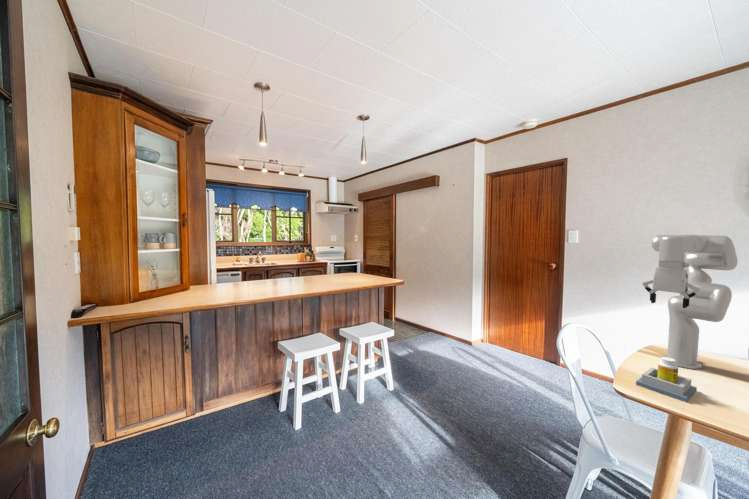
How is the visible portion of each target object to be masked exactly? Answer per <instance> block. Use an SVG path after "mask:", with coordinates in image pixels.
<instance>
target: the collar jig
mask: <svg viewBox="0 0 749 499" xmlns="http://www.w3.org/2000/svg"><path fill="white" fill-rule="evenodd" d="M657 375H658V368H655V367H651V368H649V369H648V370H647V371H645V372H643V373H642V374H641V377H640V378H639V379H637V380H636V381H635V385H636V386H637V387H640V388H641V387H642V388H644V389H647V390H650V391H653V392H655V393H658V394H661V395H664V396H667V397H670V398H672V399H675V400H678V401H682V402H684V403H687V402H688V401H689V400H690V399H691V398H692V397H693V395H694V394H695V393H696V392H697V388H698V386H697V387H696V386H694V385H692V378H689V377H686V376H682V375H679V374H678V380H677V384H674V383H671V382H668V381H665V380H662V379H658V378H657Z"/></svg>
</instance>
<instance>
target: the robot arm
mask: <svg viewBox="0 0 749 499" xmlns="http://www.w3.org/2000/svg"><path fill="white" fill-rule="evenodd" d="M651 246H652V249H653V251H655V252H657V253H659V254H658V266H657V267H656V268H655V271H654V274H653V279H652V280H649V281H644V282H642V285H643V287H644V289H645V290H646V291H647V293H648V294H649V301H650V303H651V304H654V303H656V301H657V294H656V292H657V291H660V292H666V293H675V294H679V295H673V296H671V297H669V299H668V300H667V307H668V314H669V316H668V317H669V324H668V326H669V328H668V338H667V339H668V340H667V354H665V355H663V356H662V357H668V358H672V359H674V360H676V365H677V366H678V367H680V368H685V369H689V370H690V369H692V370H700V369H702V368H703V364H701V363H700V362H699V361H698V354H699V342H700V341H699V338H700V327H699V325H698V323H697V322H696V321H695V320H701V321H706V322H711V323H713V322H714V323H719V322H722V321H723V320H724V318H725V316H726V314H727V311H728V309H729V306H730V304H731V301H732V298H733V296H732V294H733V293H732V289H731V288H730V287H729V286H727V285H725V284H720V283H713V280H712V277H711V276H710V275H709V274H708V273H707V272H706V271H704V270H713V271H714V270H716V271H732V270H734V269H736V268H737V265H738V256H737V252H736V248H735V244H734V242H733V240H732V239H731V238H730V237H729V236H727V235H705V234H703V235H702V234H699V235H698V234H659V235H656V236H654V237H653V238H652V241H651ZM702 269H703V270H702ZM651 284H652V288H651V287H650V286H649V285H651ZM694 319H695V320H694Z"/></svg>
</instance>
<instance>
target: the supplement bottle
mask: <svg viewBox="0 0 749 499" xmlns="http://www.w3.org/2000/svg"><path fill="white" fill-rule="evenodd" d="M657 369H658V375H657V378H658V379H662V380H665V381H668V382H671V383H674V384H677V380H678V375H679V366H677V365H676V360H674V359H672V358H668V357H663V356H661V359H660V361H658V363H657Z"/></svg>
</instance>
